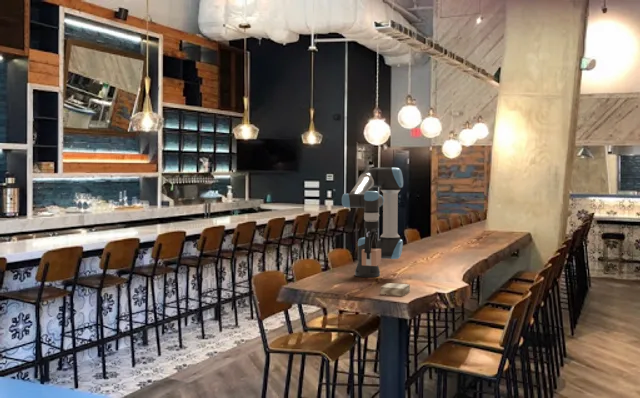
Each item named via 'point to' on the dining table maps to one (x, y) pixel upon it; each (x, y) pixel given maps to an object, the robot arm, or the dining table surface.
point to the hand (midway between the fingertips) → (371, 263)
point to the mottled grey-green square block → (395, 289)
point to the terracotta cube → (372, 257)
